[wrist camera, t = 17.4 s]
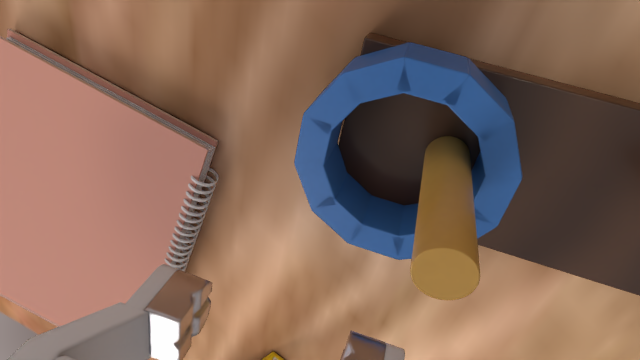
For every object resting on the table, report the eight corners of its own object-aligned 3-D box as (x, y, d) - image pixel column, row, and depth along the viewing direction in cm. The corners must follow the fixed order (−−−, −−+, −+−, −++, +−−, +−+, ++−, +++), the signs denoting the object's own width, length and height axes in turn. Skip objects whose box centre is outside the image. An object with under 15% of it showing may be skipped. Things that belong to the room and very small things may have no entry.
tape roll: (299, 194, 28) (282, 222, 25) (334, 21, 22) (318, 33, 19) (466, 247, 26) (468, 283, 24) (549, 78, 21) (564, 99, 18)
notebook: (155, 359, 44) (143, 376, 42) (8, 279, 44) (-10, 293, 42) (234, 147, 29) (220, 159, 27) (13, 28, 29) (-14, 33, 27)
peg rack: (331, 185, 28) (268, 313, 19) (369, 32, 23) (310, 99, 14) (755, 317, 25) (944, 554, 16) (909, 173, 20) (1339, 394, 10)
